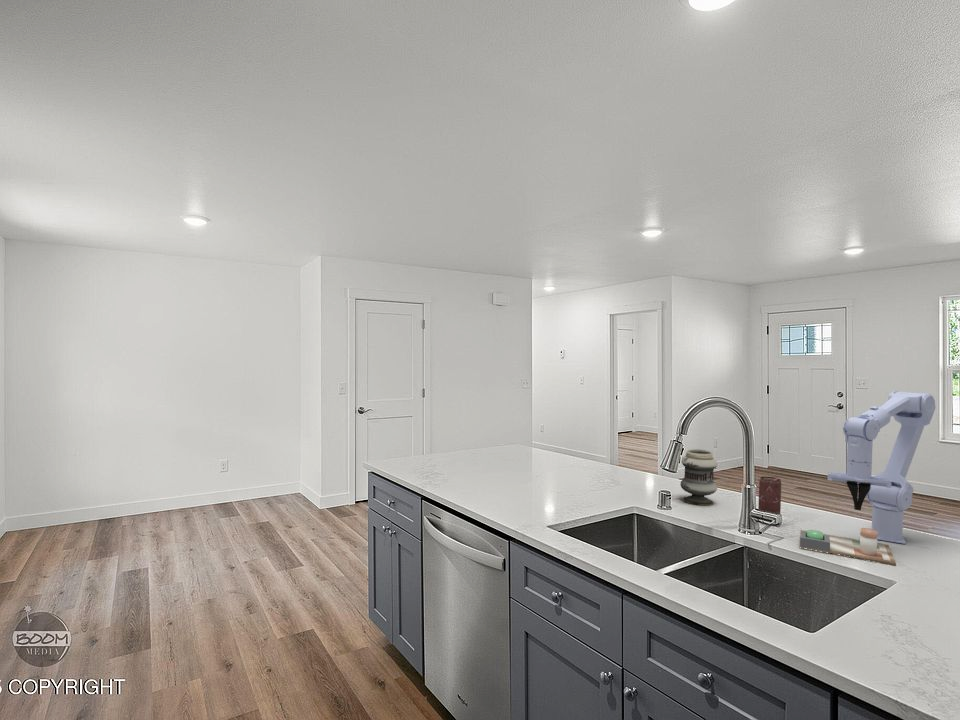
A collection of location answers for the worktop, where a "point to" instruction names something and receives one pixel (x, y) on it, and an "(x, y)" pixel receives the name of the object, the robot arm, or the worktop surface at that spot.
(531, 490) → the worktop surface
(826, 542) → the button housing
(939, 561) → the worktop surface
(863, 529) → the marker
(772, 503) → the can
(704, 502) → the apothecary jar
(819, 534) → the button
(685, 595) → the worktop surface
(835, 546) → the board
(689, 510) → the worktop surface
